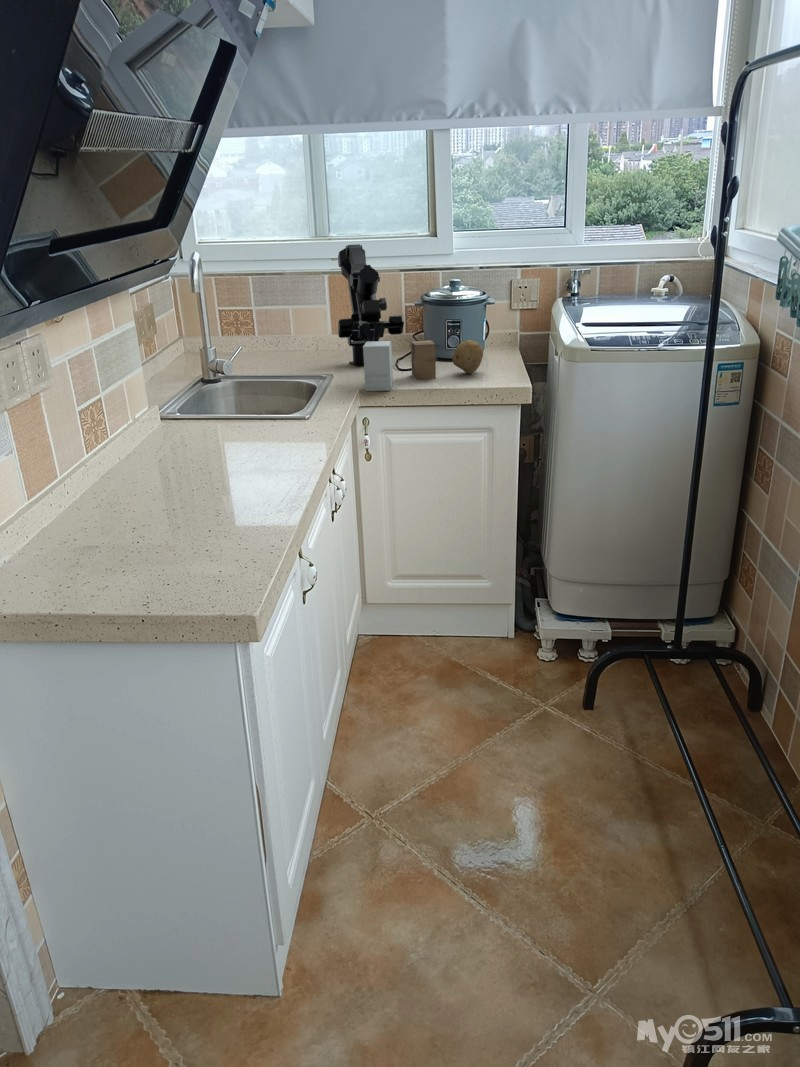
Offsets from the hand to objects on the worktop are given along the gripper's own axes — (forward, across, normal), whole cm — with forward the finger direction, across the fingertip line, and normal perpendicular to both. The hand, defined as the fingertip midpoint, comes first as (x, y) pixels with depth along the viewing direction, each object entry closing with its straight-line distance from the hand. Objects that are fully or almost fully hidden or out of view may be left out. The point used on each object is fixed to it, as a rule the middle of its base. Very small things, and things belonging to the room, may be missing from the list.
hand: (374, 351), depth 238 cm
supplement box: (+11, 0, +3) cm, 11 cm away
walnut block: (+3, +15, +10) cm, 18 cm away
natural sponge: (+4, +28, +10) cm, 30 cm away
